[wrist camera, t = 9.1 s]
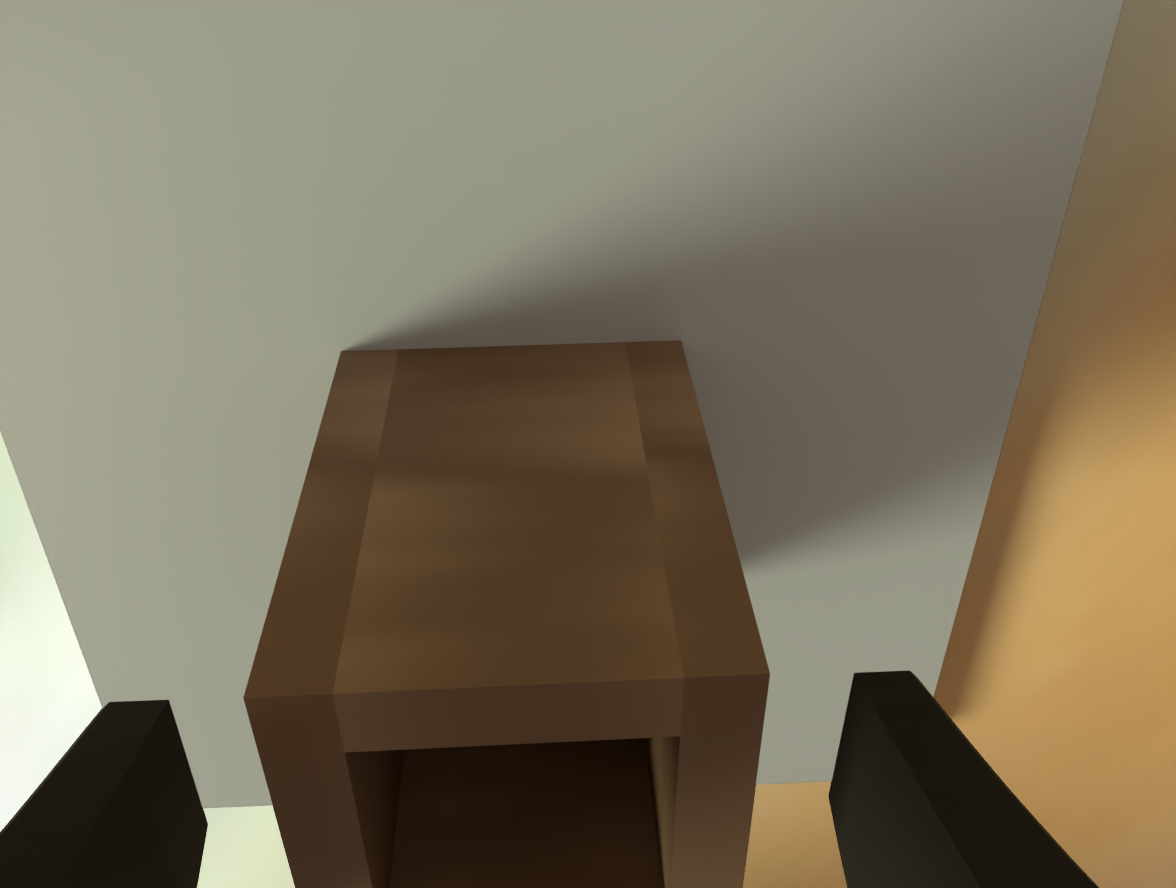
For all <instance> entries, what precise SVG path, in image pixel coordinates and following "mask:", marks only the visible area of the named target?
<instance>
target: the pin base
mask: <svg viewBox="0 0 1176 888" xmlns="http://www.w3.org/2000/svg"><path fill="white" fill-rule="evenodd" d="M1123 2H1124V0H0V432H1V434H2V437H3V440H4V442H5V445H6V448H7V450H8V453H9V456H10V459H11V461H12V464H13V467H14V469H15V472H16V475H17V478H18V480H19V483H20V486H21V488H22V491H23V494H24V497H25V499H26V502H27V505H28V507H29V510H30V513H31V516H32V518H33V521H34V524H35V526H36V529H37V532H38V534H39V537H40V540H41V543H42V545H43V548H44V551H45V553H46V556H47V559H48V562H49V564H50V567H51V570H52V572H53V575H54V578H55V581H56V583H57V586H58V589H59V591H60V594H61V597H62V600H63V602H64V605H65V608H66V610H67V613H68V616H69V619H70V621H71V624H72V627H73V629H74V632H75V635H76V637H77V640H78V643H79V646H80V648H81V651H82V654H83V656H84V659H85V662H86V665H87V667H88V670H89V673H90V675H91V678H92V681H93V684H94V686H95V689H96V692H97V694H98V697H99V700H100V703H101V705H102V708H103V707H104V706H106V705H107V704H108V703H109V702H121V701H146V700H169V702H170V705H171V708H172V711H173V714H174V718H175V721H176V724H177V727H178V730H179V734H180V737H181V740H182V743H183V747H184V750H185V753H186V756H187V759H188V763H189V766H190V769H191V772H192V775H193V779H194V782H195V785H196V788H197V791H198V795H199V798H200V801H201V804H202V807H203V808H219V807H242V806H266V805H273V804H272V801H271V797H270V794H269V790H268V786H267V783H266V779H265V775H264V772H263V768H262V764H261V761H260V757H259V754H258V750H257V746H256V743H255V739H254V735H253V732H252V728H251V724H250V721H249V717H248V713H247V710H246V706H245V703H244V699H243V697H244V694H245V690H246V687H247V683H248V680H249V676H250V672H251V669H252V665H253V662H254V658H255V655H256V651H257V648H258V644H259V640H260V637H261V633H262V630H263V626H264V623H265V619H266V616H267V612H268V608H269V605H270V601H271V598H272V594H273V591H274V587H275V584H276V580H277V577H278V573H279V569H280V566H281V562H282V559H283V555H284V552H285V548H286V545H287V541H288V537H289V534H290V530H291V527H292V523H293V520H294V516H295V513H296V509H297V505H298V502H299V498H300V495H301V491H302V488H303V484H304V481H305V477H306V474H307V470H308V466H309V463H310V459H311V456H312V452H313V449H314V445H315V442H316V438H317V434H318V431H319V427H320V424H321V420H322V417H323V413H324V410H325V406H326V402H327V399H328V395H329V392H330V388H331V385H332V381H333V378H334V374H335V371H336V367H337V363H338V360H339V356H340V353H341V351H364V350H395V349H426V348H457V347H488V346H519V345H551V344H582V343H613V342H644V341H675V340H681V341H682V345H683V349H684V353H685V356H686V360H687V364H688V368H689V371H690V375H691V379H692V383H693V386H694V390H695V394H696V398H697V401H698V405H699V409H700V413H701V416H702V420H703V424H704V428H705V431H706V435H707V439H708V443H709V446H710V450H711V454H712V458H713V461H714V465H715V469H716V473H717V476H718V480H719V484H720V488H721V491H722V495H723V499H724V503H725V506H726V510H727V514H728V518H729V521H730V525H731V529H732V533H733V536H734V540H735V544H736V548H737V551H738V555H739V559H740V563H741V566H742V570H743V574H744V578H745V581H746V585H747V589H748V593H749V596H750V600H751V604H752V608H753V611H754V615H755V619H756V623H757V626H758V630H759V634H760V638H761V641H762V645H763V649H764V653H765V656H766V660H767V664H768V668H769V671H770V679H769V687H768V695H767V702H766V710H765V718H764V726H763V733H762V741H761V749H760V756H759V764H758V772H757V780H756V784H780V783H803V782H826V781H832V777H833V772H834V767H835V763H836V758H837V753H838V748H839V743H840V738H841V733H842V728H843V724H844V719H845V714H846V709H847V704H848V699H849V694H850V690H851V685H852V680H853V675H854V673H859V672H884V671H911V672H912V673H913V674H914V675H915V676H916V677H917V678H918V679H919V680H920V681H921V682H922V684H923V685H924V686H925V687H926V689H927V690H928V691H929V692H930V694H931V695H932V696H933V697H934V693H935V690H936V686H937V682H938V679H939V675H940V671H941V668H942V664H943V660H944V657H945V653H946V649H947V646H948V642H949V638H950V635H951V631H952V627H953V624H954V620H955V616H956V613H957V609H958V605H959V602H960V598H961V594H962V591H963V587H964V584H965V580H966V576H967V573H968V569H969V565H970V562H971V558H972V554H973V551H974V547H975V543H976V540H977V536H978V532H979V529H980V525H981V521H982V518H983V514H984V510H985V507H986V503H987V499H988V496H989V492H990V488H991V485H992V481H993V477H994V474H995V470H996V466H997V463H998V459H999V456H1000V452H1001V448H1002V445H1003V441H1004V437H1005V434H1006V430H1007V426H1008V423H1009V419H1010V415H1011V412H1012V408H1013V404H1014V401H1015V397H1016V393H1017V390H1018V386H1019V382H1020V379H1021V375H1022V371H1023V368H1024V364H1025V360H1026V357H1027V353H1028V349H1029V346H1030V342H1031V339H1032V335H1033V331H1034V328H1035V324H1036V320H1037V317H1038V313H1039V309H1040V306H1041V302H1042V298H1043V295H1044V291H1045V287H1046V284H1047V280H1048V276H1049V273H1050V269H1051V265H1052V262H1053V258H1054V254H1055V251H1056V247H1057V243H1058V240H1059V236H1060V232H1061V229H1062V225H1063V222H1064V218H1065V214H1066V211H1067V207H1068V203H1069V200H1070V196H1071V192H1072V189H1073V185H1074V181H1075V178H1076V174H1077V170H1078V167H1079V163H1080V159H1081V156H1082V152H1083V148H1084V145H1085V141H1086V137H1087V134H1088V130H1089V126H1090V123H1091V119H1092V115H1093V112H1094V108H1095V105H1096V101H1097V97H1098V94H1099V90H1100V86H1101V83H1102V79H1103V75H1104V72H1105V68H1106V64H1107V61H1108V57H1109V53H1110V50H1111V46H1112V42H1113V39H1114V35H1115V31H1116V28H1117V24H1118V20H1119V17H1120V13H1121V9H1122V6H1123Z"/></svg>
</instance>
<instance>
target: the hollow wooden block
mask: <svg viewBox="0 0 1176 888" xmlns="http://www.w3.org/2000/svg"><path fill="white" fill-rule="evenodd" d="M769 679H770V671H769V668H768V664H767V660H766V656H765V653H764V649H763V645H762V641H761V638H760V634H759V630H758V626H757V623H756V619H755V615H754V611H753V608H752V604H751V600H750V596H749V593H748V589H747V585H746V581H745V578H744V574H743V570H742V566H741V563H740V559H739V555H738V551H737V548H736V544H735V540H734V536H733V533H732V529H731V525H730V521H729V518H728V514H727V510H726V506H725V503H724V499H723V495H722V491H721V488H720V484H719V480H718V476H717V473H716V469H715V465H714V461H713V458H712V454H711V450H710V446H709V443H708V439H707V435H706V431H705V428H704V424H703V420H702V416H701V413H700V409H699V405H698V401H697V398H696V394H695V390H694V386H693V383H692V379H691V375H690V371H689V368H688V364H687V360H686V356H685V353H684V349H683V345H682V341H681V340H675V341H644V342H613V343H582V344H551V345H519V346H488V347H457V348H426V349H395V350H364V351H341V353H340V356H339V360H338V363H337V367H336V371H335V374H334V378H333V381H332V385H331V388H330V392H329V395H328V399H327V402H326V406H325V410H324V413H323V417H322V420H321V424H320V427H319V431H318V434H317V438H316V442H315V445H314V449H313V452H312V456H311V459H310V463H309V466H308V470H307V474H306V477H305V481H304V484H303V488H302V491H301V495H300V498H299V502H298V505H297V509H296V513H295V516H294V520H293V523H292V527H291V530H290V534H289V537H288V541H287V545H286V548H285V552H284V555H283V559H282V562H281V566H280V569H279V573H278V577H277V580H276V584H275V587H274V591H273V594H272V598H271V601H270V605H269V608H268V612H267V616H266V619H265V623H264V626H263V630H262V633H261V637H260V640H259V644H258V648H257V651H256V655H255V658H254V662H253V665H252V669H251V672H250V676H249V680H248V683H247V687H246V690H245V694H244V697H243V699H244V703H245V706H246V710H247V713H248V717H249V721H250V724H251V728H252V732H253V735H254V739H255V743H256V746H257V750H258V754H259V757H260V761H261V764H262V768H263V772H264V775H265V779H266V783H267V786H268V790H269V794H270V797H271V801H272V804H273V808H274V812H275V815H276V819H277V823H278V826H279V830H280V834H281V837H282V841H283V845H284V848H285V852H286V855H287V859H288V863H289V866H290V870H291V874H292V877H293V881H294V885H295V888H743V880H744V872H745V865H746V857H747V849H748V842H749V834H750V826H751V818H752V811H753V803H754V795H755V787H756V780H757V772H758V764H759V756H760V749H761V741H762V733H763V726H764V718H765V710H766V702H767V695H768V687H769Z"/></svg>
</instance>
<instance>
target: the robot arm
mask: <svg viewBox="0 0 1176 888" xmlns="http://www.w3.org/2000/svg"><path fill="white" fill-rule="evenodd" d="M829 801H830V806H831V811H832V816H833V821H834V826H835V831H836V836H837V841H838V846H839V851H840V855H841V860H842V865H843V869H844V874H845V878H846V883H847V887H848V888H1099V887H1098V886H1097V885H1096V884H1095V883H1094V882H1093V881H1092V880H1091V879H1090V878H1089V877H1088V876H1087V874H1086V873H1085V872H1084V871H1083V870H1082V869H1081V868H1080V867H1079V866H1078V865H1077V864H1076V863H1075V862H1074V861H1073V860H1072V859H1071V857H1070V856H1069V855H1068V854H1067V853H1066V852H1065V851H1064V850H1063V849H1062V848H1061V846H1060V845H1059V844H1058V843H1057V842H1056V841H1055V840H1054V839H1053V838H1052V836H1051V835H1050V834H1049V833H1048V832H1047V831H1046V830H1045V829H1044V827H1043V826H1042V825H1041V824H1040V823H1039V822H1038V821H1037V820H1036V819H1035V817H1034V816H1033V815H1032V814H1031V813H1030V812H1029V811H1028V810H1027V809H1026V807H1025V806H1024V805H1023V804H1022V803H1021V802H1020V801H1019V800H1018V798H1017V797H1016V796H1015V795H1014V794H1013V793H1012V791H1011V790H1010V789H1009V788H1008V787H1007V786H1006V784H1005V783H1004V782H1003V781H1002V780H1001V779H1000V777H999V776H998V775H997V774H996V773H995V772H994V770H993V769H992V768H991V767H990V766H989V764H988V763H987V762H986V761H985V760H984V758H983V757H982V756H981V755H980V754H979V752H978V751H977V750H976V749H975V748H974V746H973V745H972V744H971V743H970V742H969V740H968V739H967V738H966V737H965V736H964V734H963V733H962V732H961V731H960V729H959V728H958V727H957V726H956V725H955V723H954V722H953V721H952V720H951V718H950V717H949V716H948V715H947V713H946V712H945V711H944V710H943V708H942V707H941V706H940V705H939V704H938V702H937V701H936V700H935V699H934V697H933V696H932V695H931V694H930V692H929V691H928V690H927V689H926V687H925V686H924V685H923V684H922V682H921V681H920V680H919V679H918V678H917V677H916V676H915V675H914V674H913V673H912V672H911V671H884V672H859V673H854V675H853V680H852V685H851V690H850V694H849V699H848V704H847V709H846V714H845V719H844V724H843V728H842V733H841V738H840V743H839V748H838V753H837V758H836V763H835V767H834V772H833V777H832V782H831V787H830V792H829ZM207 826H208V823H207V820H206V817H205V814H204V811H203V807H202V804H201V801H200V798H199V795H198V791H197V788H196V785H195V782H194V779H193V775H192V772H191V769H190V766H189V763H188V759H187V756H186V753H185V750H184V747H183V743H182V740H181V737H180V734H179V730H178V727H177V724H176V721H175V718H174V714H173V711H172V708H171V705H170V702H169V700H146V701H121V702H109V703H108V704H107V705H106V706H104V707H103V708H102V709H101V710H100V712H99V713H98V714H97V715H96V716H95V718H94V719H93V720H92V721H91V723H90V724H89V725H88V726H87V727H86V729H85V730H84V731H83V732H82V734H81V735H80V736H79V737H78V739H77V740H76V741H75V742H74V743H73V745H72V746H71V747H70V748H69V750H68V751H67V752H66V753H65V755H64V756H63V757H62V758H61V760H60V761H59V762H58V763H57V764H56V766H55V767H54V768H53V769H52V771H51V772H50V773H49V774H48V775H47V777H46V778H45V779H44V780H43V782H42V783H41V784H40V785H39V786H38V788H37V789H36V790H35V791H34V793H33V794H32V795H31V796H30V797H29V799H28V800H27V801H26V802H25V803H24V805H23V806H22V807H21V808H20V809H19V811H18V812H17V813H16V814H15V815H14V817H13V818H12V819H11V820H10V821H9V823H8V824H7V825H6V826H5V827H4V829H3V830H2V831H1V832H0V888H197V883H198V878H199V873H200V867H201V861H202V855H203V849H204V844H205V838H206V832H207Z"/></svg>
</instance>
